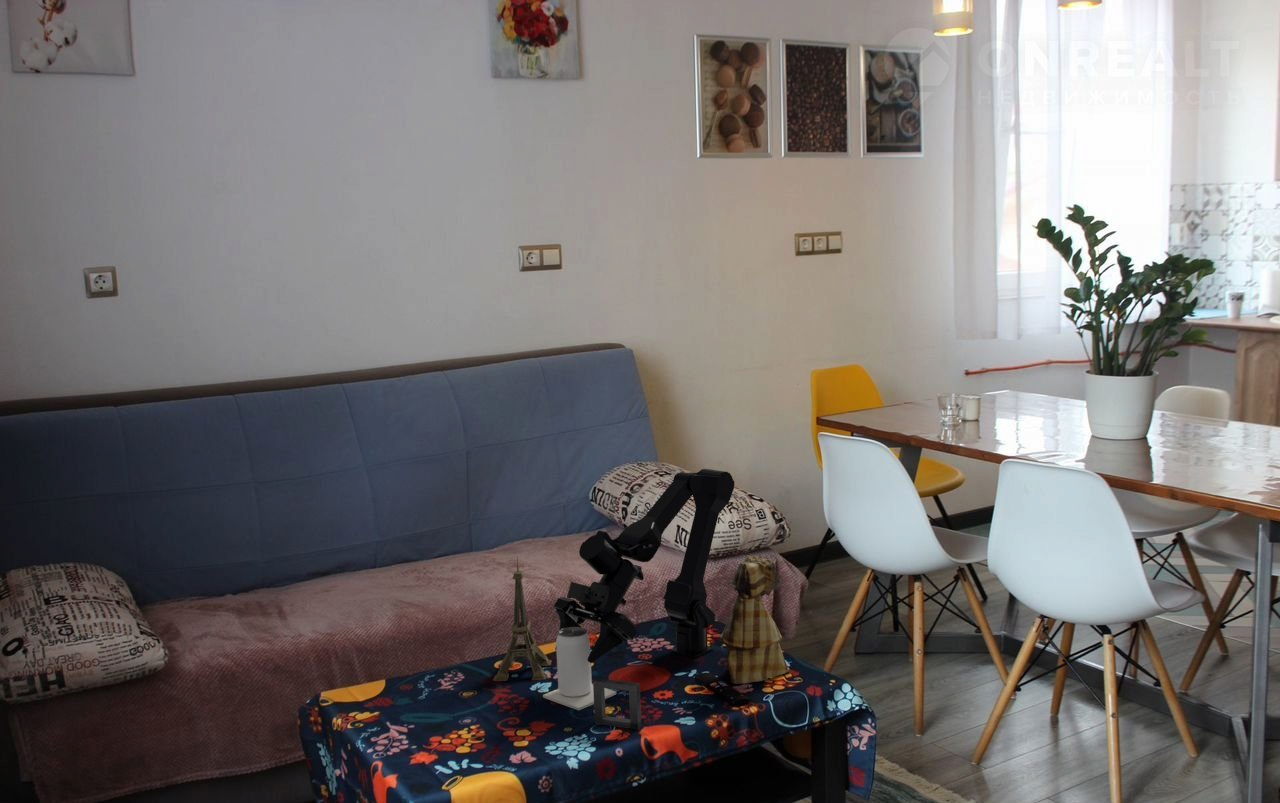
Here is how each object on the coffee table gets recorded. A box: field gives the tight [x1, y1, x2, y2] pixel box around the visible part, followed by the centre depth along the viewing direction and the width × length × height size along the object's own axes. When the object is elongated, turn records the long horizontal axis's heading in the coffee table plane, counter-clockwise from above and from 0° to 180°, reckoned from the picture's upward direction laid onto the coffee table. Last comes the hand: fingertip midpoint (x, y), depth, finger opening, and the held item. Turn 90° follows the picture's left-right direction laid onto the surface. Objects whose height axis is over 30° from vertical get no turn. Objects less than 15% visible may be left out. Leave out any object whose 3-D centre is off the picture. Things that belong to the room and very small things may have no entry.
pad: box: [542, 683, 617, 711], centre depth 220 cm, size 10×10×1 cm
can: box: [555, 626, 593, 697], centre depth 220 cm, size 6×6×12 cm
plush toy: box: [719, 555, 790, 685], centre depth 227 cm, size 14×14×25 cm
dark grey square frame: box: [592, 677, 642, 730], centre depth 206 cm, size 2×8×8 cm, turn 68°
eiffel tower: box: [492, 557, 553, 682], centre depth 233 cm, size 11×11×25 cm
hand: (573, 656), depth 218 cm, fingers open, 9 cm apart
